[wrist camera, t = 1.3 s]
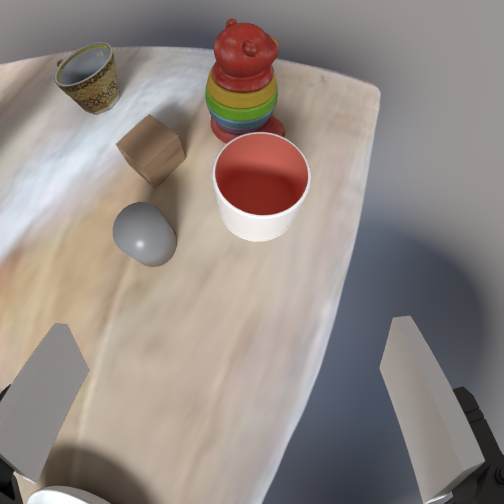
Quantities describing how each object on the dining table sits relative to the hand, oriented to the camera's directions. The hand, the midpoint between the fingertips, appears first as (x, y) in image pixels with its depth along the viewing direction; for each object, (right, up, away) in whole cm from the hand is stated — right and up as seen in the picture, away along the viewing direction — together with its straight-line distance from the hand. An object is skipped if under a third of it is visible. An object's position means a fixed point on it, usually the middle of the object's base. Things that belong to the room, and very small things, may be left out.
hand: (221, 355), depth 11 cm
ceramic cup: (-26, +31, +33) cm, 52 cm away
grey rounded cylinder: (-11, +5, +27) cm, 30 cm away
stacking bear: (0, +23, +32) cm, 39 cm away
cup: (+2, +10, +29) cm, 31 cm away
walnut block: (-12, +17, +30) cm, 36 cm away
